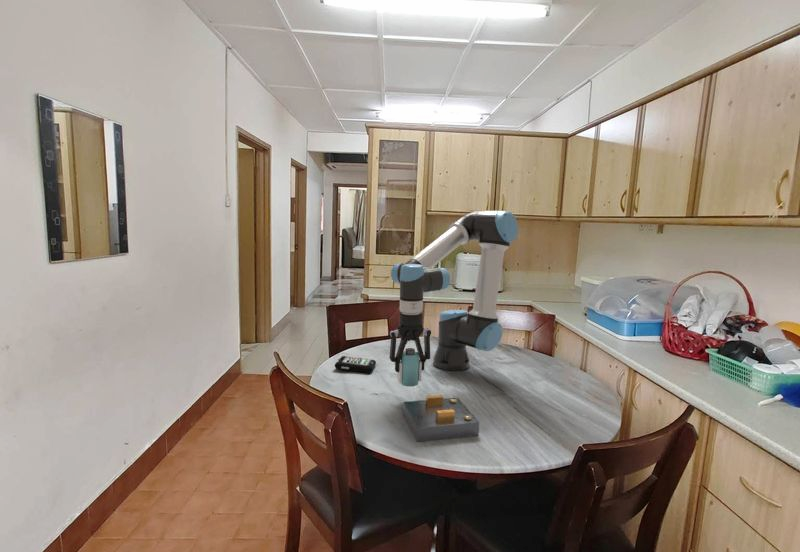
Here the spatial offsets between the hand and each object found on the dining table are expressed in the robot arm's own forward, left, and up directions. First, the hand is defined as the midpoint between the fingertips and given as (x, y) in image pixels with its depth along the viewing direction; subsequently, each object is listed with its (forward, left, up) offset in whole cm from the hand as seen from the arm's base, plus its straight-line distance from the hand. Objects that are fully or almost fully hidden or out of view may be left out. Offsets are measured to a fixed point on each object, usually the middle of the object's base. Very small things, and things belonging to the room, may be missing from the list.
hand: (409, 380), depth 134 cm
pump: (0, 0, -1) cm, 1 cm away
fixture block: (-5, +17, -7) cm, 19 cm away
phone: (+13, -32, -8) cm, 35 cm away
